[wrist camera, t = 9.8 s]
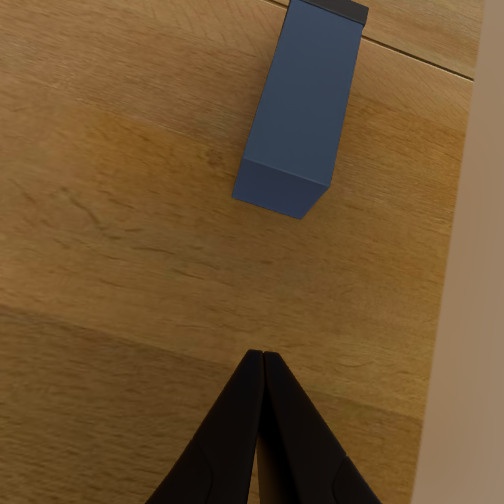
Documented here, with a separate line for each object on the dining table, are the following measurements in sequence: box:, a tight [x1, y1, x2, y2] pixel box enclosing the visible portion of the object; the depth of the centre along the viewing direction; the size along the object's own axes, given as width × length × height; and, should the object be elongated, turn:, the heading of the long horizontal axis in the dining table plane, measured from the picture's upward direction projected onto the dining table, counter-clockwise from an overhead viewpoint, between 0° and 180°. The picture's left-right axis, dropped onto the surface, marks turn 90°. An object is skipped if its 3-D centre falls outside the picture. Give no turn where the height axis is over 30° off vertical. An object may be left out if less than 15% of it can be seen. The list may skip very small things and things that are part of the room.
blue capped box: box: [232, 0, 369, 219], centre depth 22 cm, size 5×5×14 cm
